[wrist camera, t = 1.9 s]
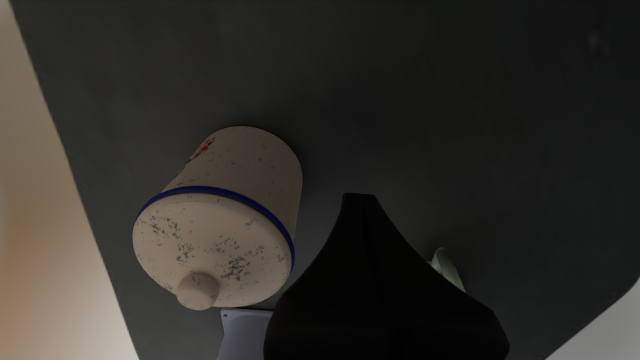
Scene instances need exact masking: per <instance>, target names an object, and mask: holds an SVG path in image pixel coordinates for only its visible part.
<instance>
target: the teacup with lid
mask: <svg viewBox="0 0 640 360" xmlns="http://www.w3.org/2000/svg"><path fill="white" fill-rule="evenodd" d="M302 185H303V174H302V169H301V166H300V163H299V161H298V159H297V157H296V155H295V154H294V152H293V151H292V150H291V149H290V147H289V146H288V145H287V144H286V143H285V142H283V141H282V140H281V139H279V138H278V137H276V136H275V135H273V134H271V133H269V132H267V131H264V130H261V129H258V128H254V127H248V126H235V127H228V128H224V129H221V130H219V131H217V132H215V133H213V134H212V135H210V136H209V137H208V138H206V139H205V140H204V141H203V143H202V144H201V145H200V146H199V147H198V149H197V150H196V151H195V152H194V153H193V155H192V156H191V157H190V158H189V160H188V161H187V162H186V163H185V164H184V166H183V167H182V168H181V169H180V170H179V172H178V173H177V174H176V175H175V177H174V178H173V179H172V180H171V181H170V183H169V184H168V185H167V186H166V187H165V189H164V190H163V191H162V192H161V193H160V194H158V195H157V196H155V197H153V198H152V199H151V200H149V201H148V202H147V203H146V204H145V205H144V206H143V208H142V209H141V210H140V212H139V214H138V216H137V218H136V221H135V226H134V229H133V247H134V251H135V254H136V256H137V259H138V261H139V262H140V264H141V266H142V267H143V269H144V270H145V271H146V272H147V273H148V274H149V275H150V276H151V278H153V279H154V280H155V281H156V282H157V283H158V284H160V285H161V286H162V287H164V288H165V289H167V290H168V291H170V292H172V293H174V294H176V295H177V299H178V300H179V302H180V303H181V304H182V305H184V306H185V307H187V308H190V309H193V310H205V309H208V308H210V307H211V306H216V307H241V306H247V305H251V304H255V303H258V302H261V301H263V300H265V299H267V298H269V297H270V296H272V295H273V294H275V293H276V292H277V291H278V290H279V289H280V288H281V287H282V286H283V285H284V283H285V282H286V280H287V279H288V277H289V275H290V274H291V271H292V269H293V266H294V260H295V252H294V246H293V241H294V234H295V228H296V222H297V216H298V210H299V203H300V197H301V191H302Z"/></svg>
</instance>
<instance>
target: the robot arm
mask: <svg viewBox="0 0 640 360" xmlns="http://www.w3.org/2000/svg"><path fill="white" fill-rule="evenodd" d="M221 317H222V323H223V328H224V338H223V341H222V344H221V347H220V350H219V353H218V357H217V360H504V359H505V358H506V356H507V354H508V352H509V350H510V343H509V341H508V339H507V337H506V335H505V333H504V330H503V328H502V326H501V324H500V322H499V321H498V319H497V317H496V316H495V314H494V312H493V310H491V309H489V308H488V307H486V306H485V305H483V304H482V303H480V302H479V301H477V300H475V299H474V298H472V297H471V296H469V295H468V294H466V293H465V292H463V291H462V290H461V289H459V288H458V287H457V286H455V285H454V284H453V283H451V282H450V281H449V280H447V279H446V278H445V277H444V276H442V275H441V274H440V273H439V272H438V271H436V270H435V269H434V268H433V267H432V266H431V265H429V264H428V263H427V262H426V261H425V260H424V259H423V258H422V257H421V256H420V255H419V254H418V253H417V252H416V251H415V250H414V249H413V248H412V247H411V246H410V244H409V243H408V242H407V241H406V240H405V239H404V237H403V236H402V235H401V234H400V232H399V231H398V230H397V228H396V227H395V226H394V224H393V223H392V222H391V220H390V219H389V217H388V216H387V214H386V213H385V211H384V210H383V208H382V207H381V205H380V204H379V202H378V200H377V199H376V197H375V196H374V195H369V194H357V193H344V194H343V197H342V205H341V210H340V213H339V216H338V219H337V221H336V224H335V226H334V228H333V230H332V232H331V234H330V236H329V238H328V239H327V241H326V243H325V244H324V246H323V248H322V249H321V251H320V252H319V254H318V255H317V256H316V258H315V259H314V261H313V262H312V263H311V264H310V266H309V267H308V268H307V269H306V270H305V271H304V273H303V274H302V275H301V276H300V277H299V278H298V279H297V280H296V281H295V282H294V283H293V284H292V285H291V286H290V287H289V288H288V289H287V290H286V291H285V292H284V293H283V294H282V296H281V298H280V300H279V301H278V303H277V305H276V307H275V309H274V311H263V310H251V309H239V308H226V307H224V308H222V309H221Z"/></svg>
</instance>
